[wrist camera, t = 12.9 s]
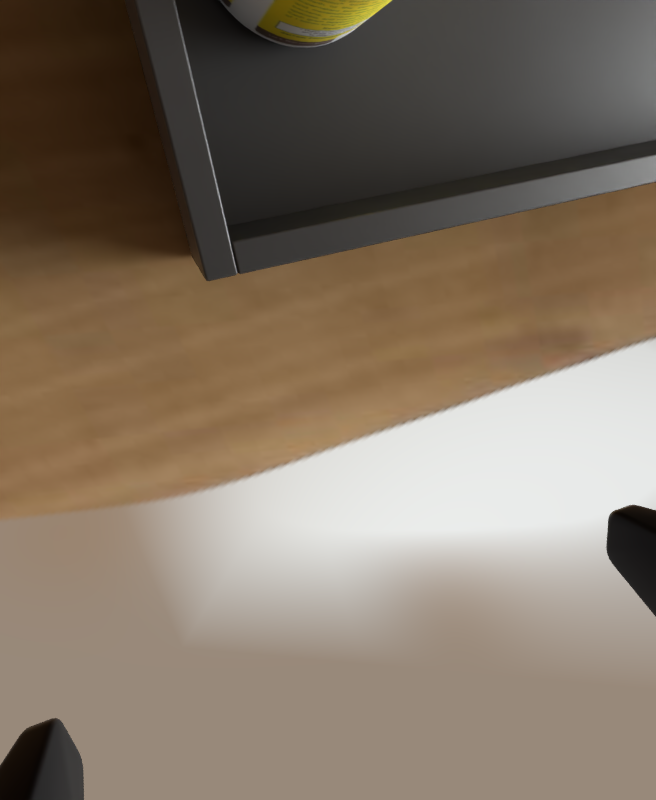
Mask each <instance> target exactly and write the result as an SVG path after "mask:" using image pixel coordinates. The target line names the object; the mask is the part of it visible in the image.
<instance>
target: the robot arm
mask: <svg viewBox="0 0 656 800" xmlns="http://www.w3.org/2000/svg"><path fill="white" fill-rule="evenodd" d="M607 553H608V556H609V559H610V560H611V562H612V564H613V565H614V566H615V567H616V569H617V570H618V571H619V572H620V574H621V575H622V576H623V577H624V578H625V580H626V581H627V582H628V583H629V584H630V586H631V587H632V588H633V589H634V590H635V592H636V593H637V594H638V595H639V597H640V598H641V599H642V600H643V602H644V603H645V604H646V605H647V606H648V607H649V609H650V610H651V611H652V612H653V614H654V615H655V616H656V510H652V509H649V508H645V507H641V506H637V505H629V506H626V507H623V508H621V509H618V510H615V511H613V512H612V513H611V514H610V516H609V520H608V534H607ZM83 784H84V783H83V765H82V759H81V756H80V754H79V752H78V750H77V748H76V746H75V744H74V743H73V741H72V739H71V737H70V735H69V734H68V732H67V730H66V728H65V727H64V725H63V723H62V722H61V721H60V720H59V719H57V718H55V719H50V720H47V721H45V722H42V723H39V724H36V725H34V726H31V727H29V728H27V729H26V730H25V731H24V732H23V733H22V734H21V735H20V736H19V738H18V739H17V741H16V742H15V744H14V745H13V747H12V748H11V750H10V752H9V753H8V754H7V756H6V758H5V759H4V761H3V762H2V764H1V765H0V800H84V788H83V787H84V786H83Z"/></svg>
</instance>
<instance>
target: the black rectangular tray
mask: <svg viewBox="0 0 656 800" xmlns="http://www.w3.org/2000/svg"><path fill="white" fill-rule="evenodd" d="M125 4H126V8H127V11H128V15H129V19H130V23H131V27H132V30H133V34H134V38H135V42H136V46H137V49H138V53H139V57H140V61H141V65H142V68H143V72H144V76H145V80H146V84H147V87H148V91H149V95H150V99H151V103H152V106H153V110H154V114H155V118H156V122H157V125H158V129H159V133H160V137H161V141H162V144H163V148H164V152H165V156H166V160H167V163H168V167H169V171H170V175H171V179H172V182H173V186H174V190H175V194H176V198H177V201H178V205H179V209H180V213H181V217H182V220H183V224H184V228H185V232H186V236H187V239H188V243H189V247H190V251H191V255H192V257H193V259H194V261H195V262H196V264H197V266H198V267H199V269H200V271H201V273H202V274H203V276H204V278H205V279H206V281H211V280H216V279H220V278H225V277H229V276H234V275H236V274H237V273H239V274H243V273H247V272H252V271H256V270H261V269H265V268H270V267H275V266H279V265H284V264H288V263H293V262H297V261H302V260H306V259H311V258H315V257H320V256H324V255H329V254H333V253H338V252H342V251H347V250H351V249H356V248H360V247H365V246H369V245H374V244H379V243H383V242H388V241H392V240H397V239H401V238H406V237H410V236H415V235H419V234H424V233H428V232H433V231H437V230H442V229H446V228H451V227H455V226H460V225H464V224H469V223H473V222H478V221H482V220H487V219H492V218H496V217H501V216H505V215H510V214H514V213H519V212H523V211H528V210H532V209H537V208H541V207H546V206H550V205H555V204H559V203H564V202H568V201H573V200H577V199H582V198H586V197H591V196H595V195H600V194H605V193H609V192H614V191H618V190H623V189H627V188H632V187H636V186H641V185H645V184H650V183H654V182H656V0H392V1H391V2H389V3H388V4H387V5H386V6H384V7H383V8H382V9H380V10H379V11H378V12H377V13H375V14H374V15H373V16H371V17H370V18H369V19H368V20H366V21H365V22H364V23H362V24H361V25H360V26H359V27H357V28H356V29H355V30H353V31H352V32H350V33H349V34H347V35H346V36H344V37H342V38H340V39H338V40H336V41H334V42H331V43H329V44H326V45H322V46H317V47H308V48H307V47H290V46H285V45H281V44H278V43H275V42H272V41H270V40H267V39H265V38H263V37H261V36H259V35H257V34H256V33H254V32H253V31H251V30H250V29H248V28H247V27H245V26H244V25H243V24H242V23H240V22H239V21H238V20H237V19H236V18H235V17H234V16H233V15H232V14H231V13H230V12H229V11H228V10H227V9H226V8H225V6H224V5H223V4H222V3H221V1H220V0H125Z"/></svg>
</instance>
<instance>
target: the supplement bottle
mask: <svg viewBox="0 0 656 800" xmlns="http://www.w3.org/2000/svg"><path fill="white" fill-rule="evenodd" d="M220 1H221V3H222V4H223V5H224V6H225V8H226V9H227V10H228V11H229V12H230V13H231V14H232V15H233V16H234V17H235V18H236V19H237V20H238V21H239V22H240V23H242V24H243V25H244V26H245V27H247V28H248V29H250V30H251V31H253V32H254V33H256V34H257V35H259V36H261V37H263V38H265V39H267V40H270V41H272V42H275V43H278V44H281V45H285V46H290V47H307V48H308V47H317V46H322V45H326V44H329V43H331V42H334V41H336V40H338V39H340V38H342V37H344V36H346V35H347V34H349V33H350V32H352V31H353V30H355V29H356V28H357V27H359V26H360V25H361V24H362V23H364V22H365V21H366V20H368V19H369V18H370V17H371V16H373V15H374V14H375V13H377V12H378V11H379V10H380V9H382V8H383V7H384V6H386V5H387V4H388V3H389V2H391V1H392V0H220Z"/></svg>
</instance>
